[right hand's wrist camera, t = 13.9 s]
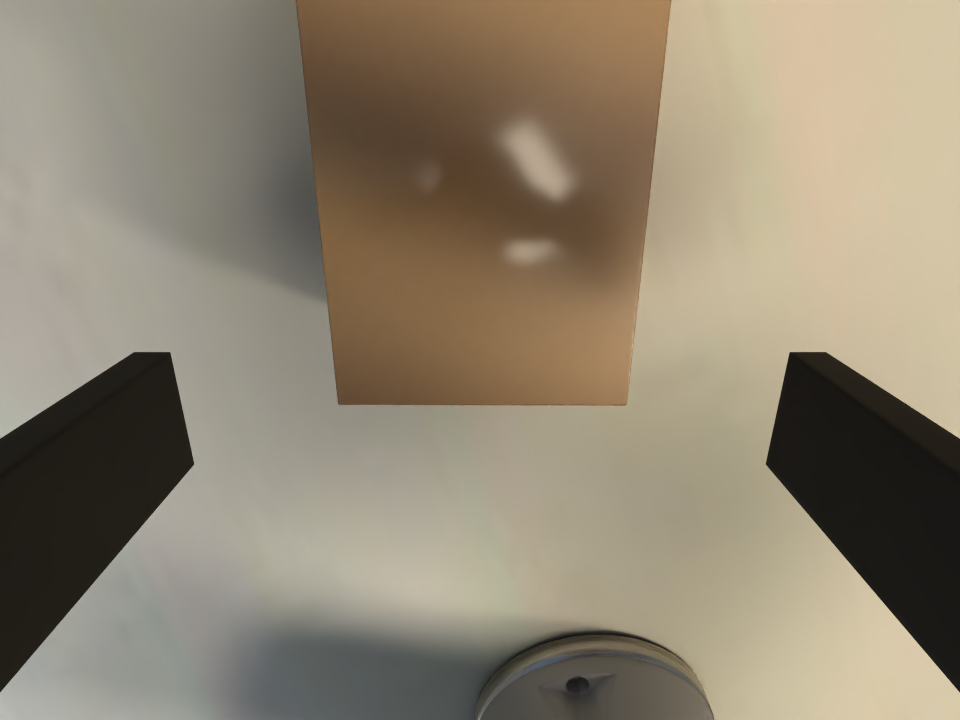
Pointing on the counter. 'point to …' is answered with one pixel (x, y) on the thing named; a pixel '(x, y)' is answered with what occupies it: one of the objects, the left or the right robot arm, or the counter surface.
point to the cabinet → (482, 193)
